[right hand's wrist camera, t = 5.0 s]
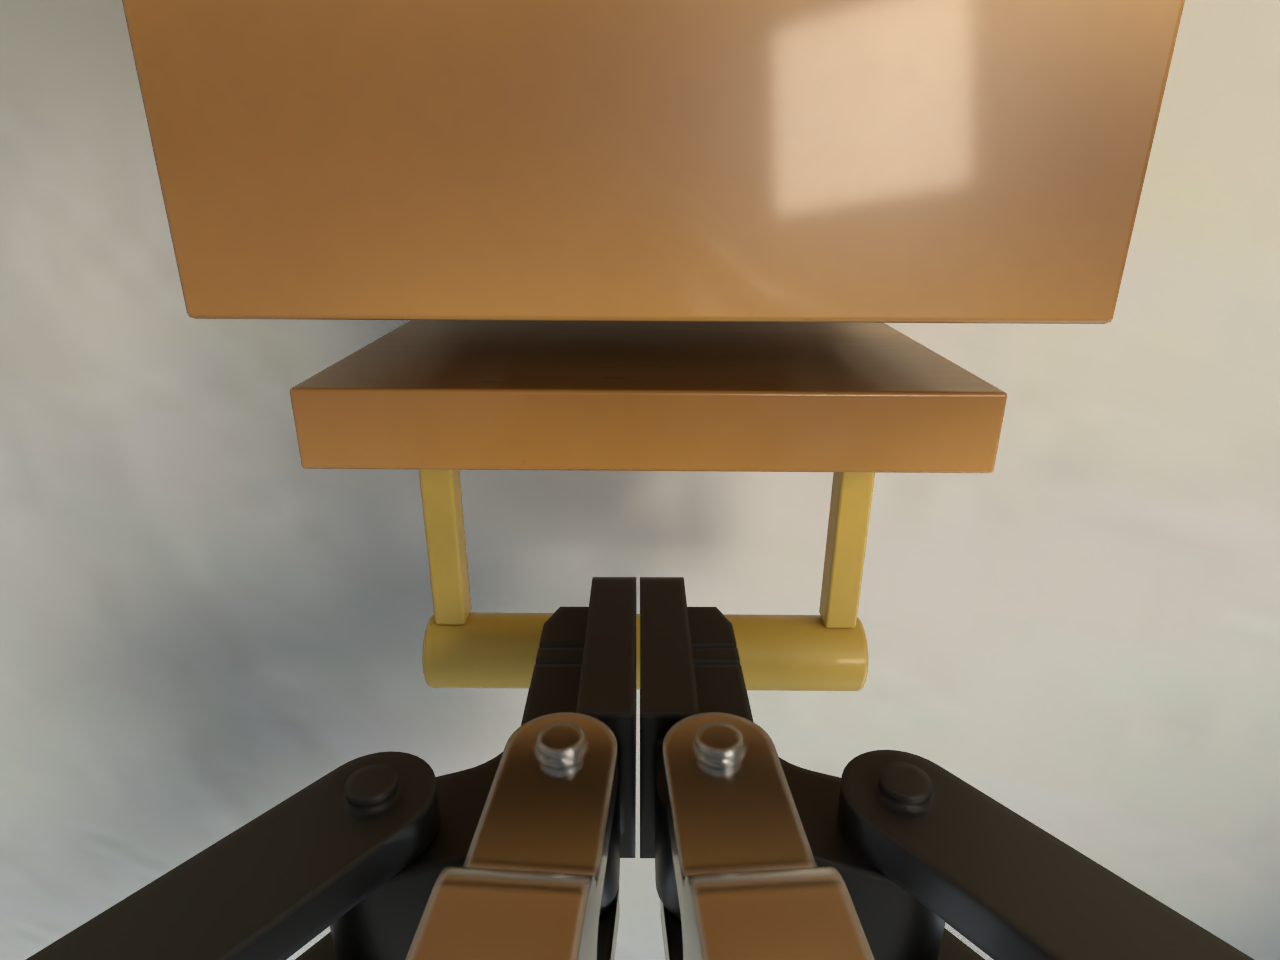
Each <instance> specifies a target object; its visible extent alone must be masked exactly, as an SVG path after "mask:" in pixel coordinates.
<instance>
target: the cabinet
mask: <svg viewBox="0 0 1280 960" xmlns="http://www.w3.org/2000/svg"><path fill="white" fill-rule="evenodd" d="M1184 1H1185V0H122V2H123V7H124V12H125V16H126V21H127V26H128V31H129V36H130V40H131V45H132V50H133V55H134V60H135V64H136V69H137V74H138V79H139V84H140V88H141V93H142V98H143V103H144V108H145V112H146V117H147V122H148V127H149V132H150V136H151V141H152V146H153V151H154V156H155V160H156V165H157V170H158V175H159V180H160V184H161V189H162V194H163V199H164V204H165V208H166V213H167V218H168V223H169V228H170V232H171V237H172V242H173V247H174V252H175V256H176V261H177V266H178V271H179V276H180V280H181V285H182V290H183V295H184V300H185V304H186V309H187V313H188V315H189V317H192V318H195V319H337V320H514V321H690V322H866V323H1042V324H1105V323H1108V322H1111V320H1112V318H1113V314H1114V310H1115V306H1116V301H1117V297H1118V292H1119V288H1120V284H1121V279H1122V275H1123V270H1124V266H1125V262H1126V257H1127V253H1128V248H1129V244H1130V239H1131V235H1132V231H1133V226H1134V222H1135V217H1136V213H1137V209H1138V204H1139V200H1140V195H1141V191H1142V187H1143V182H1144V178H1145V173H1146V169H1147V165H1148V160H1149V156H1150V151H1151V147H1152V143H1153V138H1154V134H1155V129H1156V125H1157V120H1158V116H1159V112H1160V107H1161V103H1162V98H1163V94H1164V90H1165V85H1166V81H1167V76H1168V72H1169V68H1170V63H1171V59H1172V54H1173V50H1174V46H1175V41H1176V37H1177V32H1178V28H1179V24H1180V19H1181V15H1182V10H1183V6H1184Z"/></svg>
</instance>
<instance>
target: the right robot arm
mask: <svg viewBox="0 0 1280 960" xmlns="http://www.w3.org/2000/svg"><path fill="white" fill-rule="evenodd" d="M635 805H636V577H593V579H592V587H591V595H590V603H589V607H560V608H559V609H558V610H557V611H556V612H555V613H554V614H553V615H552V616H551V617H550V618H549V619H548V620H547V621H546V622H545V623H544V625H543V629H542V634H541V638H540V643H539V648H538V652H537V656H536V664H535V665H534V670H533V674H532V679H531V683H530V688H529V692H528V697H527V701H526V706H525V710H524V715H523V719H522V724H521V727H519V728H518V729H517V730H516V731H515V732H514V733H513V734H512V735H511V737H510V738H509V740H508V742H507V744H506V746H505V749H504V751H503V752H502V753H501V754H499V755H498V756H497V757H495V758H494V759H492V760H490V761H488V762H486V763H484V764H482V765H479V766H477V767H474V768H471V769H467V770H464V771H460V772H455V773H451V774H447V775H443V776H439V777H435V775H434V772H433V770H432V769H431V767H430V766H429V764H427V763H426V762H425V761H424V760H422V759H421V758H419V757H417V756H414V755H411V754H408V753H402V752H380V753H374V754H369V755H366V756H363V757H359V758H357V759H354V760H352V761H350V762H347V763H346V764H344V765H342V766H340V767H338V768H337V769H335V770H334V771H332V772H330V773H329V774H327V775H325V776H324V777H322V778H321V779H319V780H317V781H316V782H314V783H312V784H311V785H309V786H308V787H306V788H304V789H303V790H301V791H299V792H298V793H296V794H295V795H293V796H291V797H290V798H288V799H286V800H285V801H283V802H281V803H280V804H278V805H277V806H275V807H273V808H272V809H270V810H268V811H267V812H265V813H264V814H262V815H260V816H259V817H257V818H255V819H254V820H252V821H251V822H249V823H247V824H246V825H244V826H242V827H241V828H239V829H238V830H236V831H234V832H233V833H231V834H229V835H228V836H226V837H225V838H223V839H221V840H220V841H218V842H216V843H215V844H213V845H212V846H210V847H208V848H207V849H205V850H203V851H202V852H200V853H199V854H197V855H195V856H194V857H192V858H190V859H189V860H187V861H186V862H184V863H182V864H181V865H179V866H177V867H176V868H174V869H173V870H171V871H169V872H168V873H166V874H164V875H163V876H161V877H160V878H158V879H156V880H155V881H153V882H151V883H150V884H148V885H147V886H145V887H143V888H142V889H140V890H138V891H137V892H135V893H134V894H132V895H130V896H129V897H127V898H125V899H124V900H122V901H121V902H119V903H117V904H116V905H114V906H112V907H111V908H109V909H108V910H106V911H104V912H103V913H101V914H99V915H98V916H96V917H95V918H93V919H91V920H90V921H88V922H86V923H85V924H83V925H82V926H80V927H78V928H77V929H75V930H73V931H72V932H70V933H69V934H67V935H65V936H64V937H62V938H60V939H59V940H57V941H56V942H54V943H52V944H51V945H49V946H47V947H46V948H44V949H42V950H41V951H39V952H38V953H36V954H34V955H33V956H31V957H29V958H28V959H26V960H286V959H287V958H289V957H290V956H291V955H293V954H294V953H295V952H296V951H298V950H299V949H300V948H302V947H303V946H304V945H305V944H307V943H308V942H309V941H311V940H312V939H313V938H314V937H316V936H317V935H318V934H320V933H321V932H322V931H323V930H325V929H326V928H327V927H329V926H330V929H331V932H330V933H328V934H327V935H326V936H325V937H323V938H322V939H321V940H320V941H318V942H317V943H316V944H314V945H313V946H312V947H311V948H309V949H308V950H307V951H306V952H304V953H303V954H302V955H300V956H299V957H298V958H297V959H295V960H614V959H615V950H616V941H617V932H618V923H619V868H620V858H635ZM640 858H655V871H656V888H657V892H658V895H659V897H660V899H661V923H662V932H663V941H664V950H665V959H666V960H985V959H983V958H982V957H981V956H980V955H978V954H977V953H976V952H974V951H973V950H972V949H971V948H969V947H968V946H967V945H966V944H964V943H963V942H962V941H960V940H959V939H958V938H957V937H955V936H954V935H953V934H952V933H950V932H949V931H948V930H946V929H945V928H944V926H945V922H946V923H947V924H949V925H950V926H951V927H953V928H954V929H955V930H956V931H958V932H959V933H960V934H962V935H963V936H964V937H966V938H967V939H968V940H969V941H971V942H972V943H973V944H975V945H976V946H977V947H978V948H980V949H981V950H982V951H984V952H985V953H986V954H987V955H989V956H990V957H991V958H993V959H994V960H1254V959H1252V958H1250V957H1249V956H1247V955H1246V954H1244V953H1242V952H1241V951H1239V950H1237V949H1236V948H1234V947H1233V946H1231V945H1229V944H1228V943H1226V942H1224V941H1223V940H1221V939H1220V938H1218V937H1216V936H1215V935H1213V934H1211V933H1210V932H1208V931H1207V930H1205V929H1203V928H1202V927H1200V926H1198V925H1197V924H1195V923H1194V922H1192V921H1190V920H1189V919H1187V918H1185V917H1184V916H1182V915H1181V914H1179V913H1177V912H1176V911H1174V910H1172V909H1171V908H1169V907H1168V906H1166V905H1164V904H1163V903H1161V902H1159V901H1158V900H1156V899H1155V898H1153V897H1151V896H1150V895H1148V894H1146V893H1145V892H1143V891H1142V890H1140V889H1138V888H1137V887H1135V886H1133V885H1132V884H1130V883H1129V882H1127V881H1125V880H1124V879H1122V878H1120V877H1119V876H1117V875H1116V874H1114V873H1112V872H1111V871H1109V870H1107V869H1106V868H1104V867H1103V866H1101V865H1099V864H1098V863H1096V862H1094V861H1093V860H1091V859H1090V858H1088V857H1086V856H1085V855H1083V854H1081V853H1080V852H1078V851H1077V850H1075V849H1073V848H1072V847H1070V846H1068V845H1067V844H1065V843H1064V842H1062V841H1060V840H1059V839H1057V838H1055V837H1054V836H1052V835H1051V834H1049V833H1047V832H1046V831H1044V830H1042V829H1041V828H1039V827H1037V826H1036V825H1034V824H1033V823H1031V822H1029V821H1028V820H1026V819H1024V818H1023V817H1021V816H1020V815H1018V814H1016V813H1015V812H1013V811H1011V810H1010V809H1008V808H1007V807H1005V806H1003V805H1002V804H1000V803H998V802H997V801H995V800H994V799H992V798H990V797H989V796H987V795H985V794H984V793H982V792H981V791H979V790H977V789H976V788H974V787H972V786H971V785H969V784H968V783H966V782H964V781H963V780H961V779H959V778H958V777H956V776H955V775H953V774H951V773H950V772H948V771H946V770H945V769H943V768H942V767H940V766H938V765H937V764H935V763H933V762H931V761H929V760H927V759H925V758H922V757H920V756H917V755H914V754H910V753H907V752H901V751H894V750H877V751H871V752H867V753H864V754H861V755H859V756H857V757H855V758H854V759H853V760H851V761H850V762H849V763H848V764H847V766H846V767H845V769H844V771H843V774H842V778H839V777H835V776H830V775H826V774H822V773H818V772H814V771H810V770H807V769H803V768H800V767H797V766H795V765H793V764H790V763H788V762H786V761H784V760H783V759H781V758H779V757H778V754H777V752H776V749H775V746H774V744H773V742H772V740H771V738H770V737H769V735H768V734H767V733H766V732H765V731H764V730H763V729H762V728H761V727H759V726H758V725H756V724H755V723H754V722H753V719H752V714H751V709H750V704H749V700H748V695H747V690H746V686H745V681H744V676H743V672H742V667H741V665H740V658H739V653H738V648H737V644H736V639H735V634H734V630H733V625H732V623H731V622H730V621H729V620H728V619H727V618H726V617H725V616H724V615H723V614H722V613H721V612H720V611H719V610H718V609H717V608H716V607H687V604H686V595H685V586H684V578H683V577H640Z"/></svg>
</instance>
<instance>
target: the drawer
mask: <svg viewBox="0 0 1280 960" xmlns="http://www.w3.org/2000/svg"><path fill="white" fill-rule="evenodd" d="M290 396H291V402H292V408H293V414H294V420H295V426H296V432H297V438H298V444H299V450H300V456H301V462H302V466H303V468H318V469H419V476H420V485H421V494H422V504H423V513H424V522H425V532H426V541H427V550H428V560H429V569H430V578H431V587H432V597H433V606H434V614H433V615H432V616H431V618H430V620H429V622H428V625H427V628H426V631H425V636H424V642H423V655H422V661H423V672H424V676H425V680H426V683H427V684H428V685H429V686H431V687H433V688H530V683H531V679H532V674H533V670H534V665H535V664H536V656H537V652H538V648H539V643H540V638H541V634H542V629H543V625H544V623H545V622H546V621H547V620H548V619H549V618H550V617H551V616H552V615H553V614H554V613H470V611H471V601H470V590H469V578H468V567H467V555H466V544H465V532H464V521H463V509H462V498H461V486H460V475H459V469H466V470H613V471H761V472H834V475H833V485H832V494H831V504H830V514H829V524H828V533H827V543H826V553H825V562H824V572H823V582H822V591H821V601H820V611H819V612H820V615H724V616H725V617H726V618H727V619H728V620H729V621H730V622H731V623H732V625H733V630H734V634H735V639H736V644H737V648H738V653H739V658H740V665H741V667H742V672H743V676H744V681H745V686H746V690H791V691H858V690H860V689H862V688H863V686H864V684H865V681H866V677H867V671H868V648H867V640H866V635H865V632H864V629H863V626H862V623H861V621H860V620H859V618H857V613H858V605H859V597H860V589H861V581H862V573H863V564H864V556H865V548H866V540H867V532H868V524H869V516H870V508H871V500H872V492H873V484H874V476H875V472H908V473H991V472H993V470H994V464H995V459H996V453H997V448H998V443H999V437H1000V432H1001V426H1002V421H1003V415H1004V410H1005V404H1006V399H1007V394H1006V393H1005V392H1003V391H1002V390H1000V389H998V388H996V387H995V386H993V385H991V384H989V383H988V382H986V381H984V380H982V379H981V378H979V377H977V376H975V375H974V374H972V373H970V372H968V371H967V370H965V369H963V368H961V367H960V366H958V365H956V364H954V363H953V362H951V361H949V360H947V359H946V358H944V357H942V356H940V355H939V354H937V353H935V352H933V351H932V350H930V349H928V348H926V347H925V346H923V345H921V344H919V343H918V342H916V341H914V340H913V339H911V338H909V337H907V336H906V335H904V334H902V333H900V332H899V331H897V330H895V329H893V328H892V327H890V326H888V325H886V324H885V323H866V322H690V321H514V320H411V321H409V322H407V323H406V324H404V325H402V326H400V327H399V328H397V329H395V330H393V331H392V332H390V333H388V334H386V335H384V336H383V337H381V338H379V339H377V340H376V341H374V342H372V343H370V344H369V345H367V346H365V347H363V348H362V349H360V350H358V351H356V352H354V353H353V354H351V355H349V356H347V357H346V358H344V359H342V360H340V361H339V362H337V363H335V364H333V365H332V366H330V367H328V368H326V369H324V370H323V371H321V372H319V373H317V374H316V375H314V376H312V377H310V378H309V379H307V380H305V381H303V382H302V383H300V384H298V385H296V386H295V387H293V388H291V389H290ZM636 689H640V614H636Z"/></svg>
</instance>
